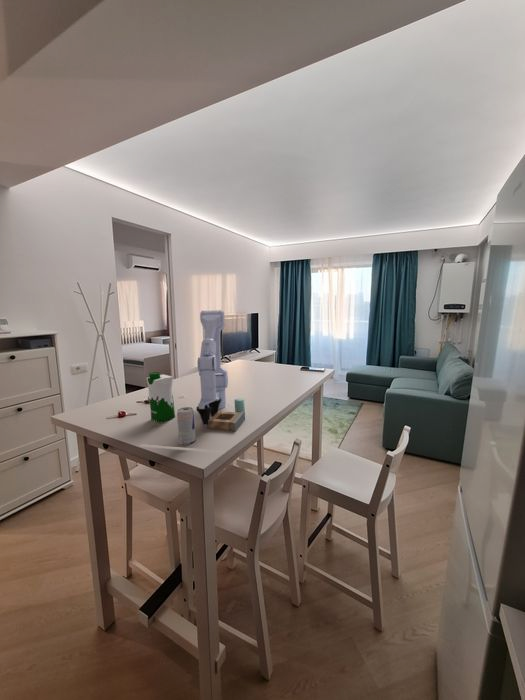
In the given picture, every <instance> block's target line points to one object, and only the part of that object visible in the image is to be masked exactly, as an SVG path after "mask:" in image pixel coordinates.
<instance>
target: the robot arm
mask: <svg viewBox="0 0 525 700" xmlns="http://www.w3.org/2000/svg"><path fill="white" fill-rule="evenodd" d="M225 318H226V317H225V311H224V310H223V309H213V310H201V311H200V314H199V320H200V324H201V326H202V327H203V330H204V340H203V341H202V342H201V346H200V347H201V348H200V355H199V357H197V371H198V375H199V377H200V381H199V382H200V394H201V396H200V397H201V398H200V400H199V403H198V405H197V406H196V411H197V412H198V414H199V415H200V419H201V422H202V424H203V425H204V426H205V425H206V426H208V420H210V418H212V417H213V416H214V415H215V414H216V413H217V412H218V411H219V410H220V409H225V408H226V407H228V406H230V403H227V397H226V396H227V395H226V389H227V388H228V387H229V386H228V385H229V376H228V371H227V370H226V369H225V368H223V367H222V360H221V359H222V357H221V331H222V330H225V326H226V325H225V321H226V320H225Z"/></svg>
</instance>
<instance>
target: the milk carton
mask: <svg viewBox="0 0 525 700" xmlns="http://www.w3.org/2000/svg"><path fill="white" fill-rule="evenodd" d="M148 376H149V377H146V379H145V380H146V383H147V388H148V389H147V390H148V396H149V405H150V407H149V408H150V419H153V420H152V421H154V420H155V421H154V422H156V421H157V422H156V423H158V422H159V424H162V423H161V422H163V423H164V421H166V422H168V421H171V420H173V419H174V418H176V413H175V411H176V410H175V404H174V403H175V401H174V391H173V380H174V377H173V376H171V375H168V374H164V373H163V374H161V372H159V371H153V372H149V375H148ZM170 419H171V420H170ZM167 420H168V421H167Z"/></svg>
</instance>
